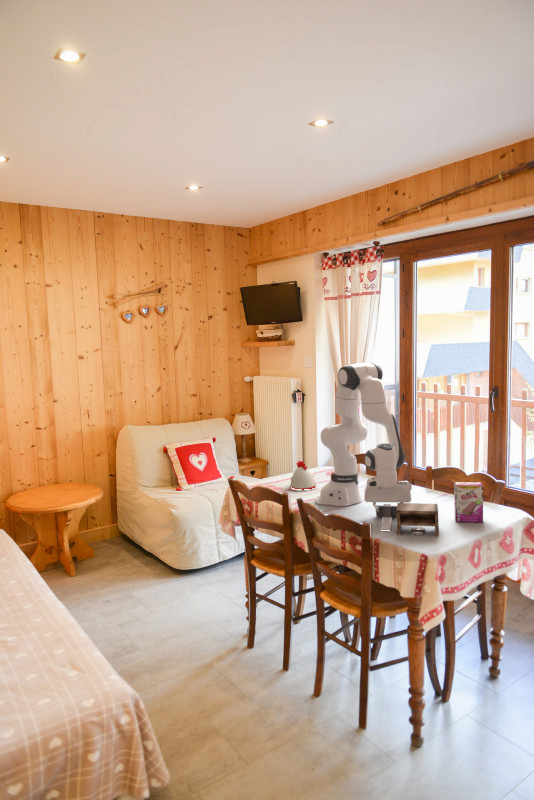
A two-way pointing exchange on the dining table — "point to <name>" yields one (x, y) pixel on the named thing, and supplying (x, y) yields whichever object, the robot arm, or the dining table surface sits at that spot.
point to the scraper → (386, 515)
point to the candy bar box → (468, 501)
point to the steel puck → (418, 530)
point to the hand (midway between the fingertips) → (388, 511)
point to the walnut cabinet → (417, 515)
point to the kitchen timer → (302, 478)
